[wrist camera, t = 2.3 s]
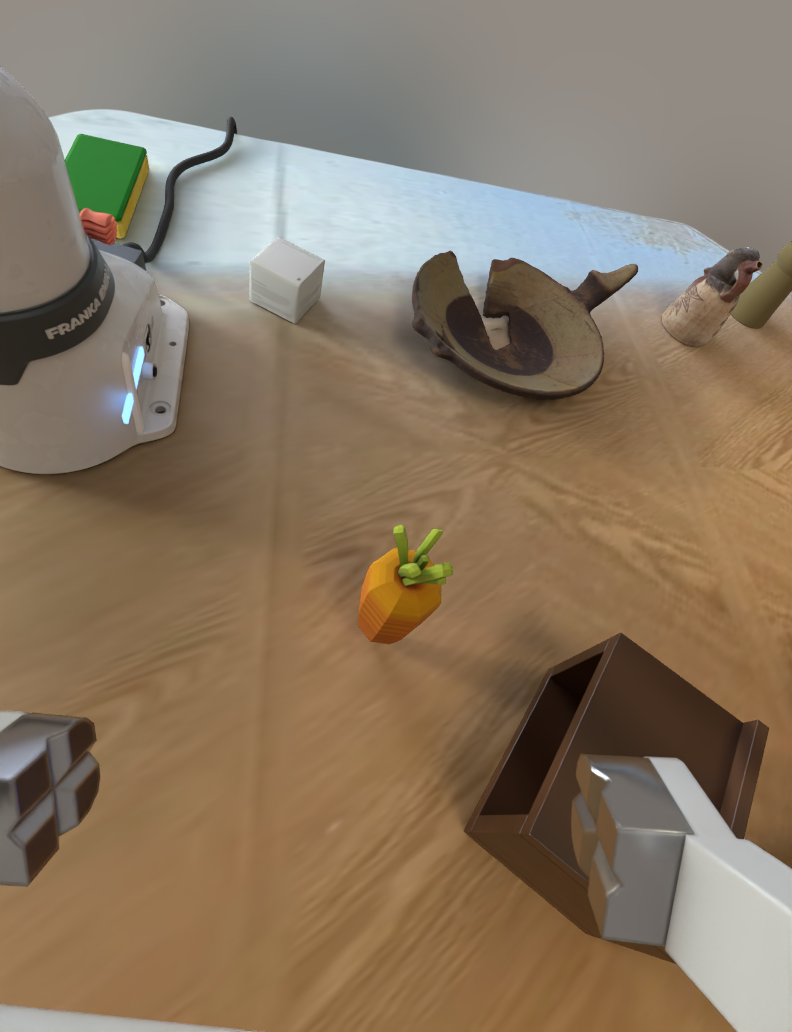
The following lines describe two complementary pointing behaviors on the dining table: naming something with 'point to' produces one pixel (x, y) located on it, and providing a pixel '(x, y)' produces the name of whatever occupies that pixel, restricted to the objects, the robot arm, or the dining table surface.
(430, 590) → the carrot
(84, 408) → the robot arm
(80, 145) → the dish sponge
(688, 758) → the wooden desk organizer
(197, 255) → the dining table surface
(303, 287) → the small box
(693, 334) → the figurine
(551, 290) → the broken bowl
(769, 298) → the chess pawn
